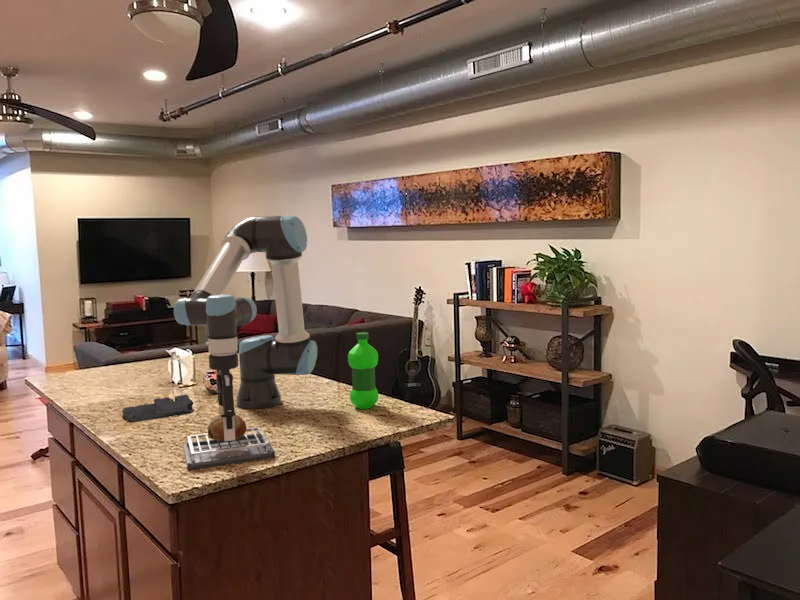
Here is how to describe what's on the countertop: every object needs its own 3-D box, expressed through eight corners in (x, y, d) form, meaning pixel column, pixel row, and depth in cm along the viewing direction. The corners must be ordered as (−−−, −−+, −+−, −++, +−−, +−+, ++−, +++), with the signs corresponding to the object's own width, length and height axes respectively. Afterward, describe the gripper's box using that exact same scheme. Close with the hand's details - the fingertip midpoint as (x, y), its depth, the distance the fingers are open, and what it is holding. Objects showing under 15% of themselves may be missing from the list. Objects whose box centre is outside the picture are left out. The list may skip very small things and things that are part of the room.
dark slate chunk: (119, 414, 223) (118, 400, 223) (186, 404, 235) (185, 390, 234) (127, 425, 210) (126, 410, 210) (198, 414, 222) (197, 400, 221)
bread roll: (207, 447, 182) (194, 424, 178) (236, 423, 188) (224, 401, 185) (227, 455, 175) (214, 431, 172) (256, 430, 181) (244, 407, 178)
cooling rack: (183, 448, 185) (182, 435, 184) (263, 438, 193) (263, 425, 192) (187, 470, 168) (186, 455, 168) (275, 457, 176) (274, 443, 176)
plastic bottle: (379, 402, 230) (377, 330, 227) (379, 410, 219) (377, 335, 217) (350, 403, 229) (347, 331, 227) (348, 411, 219) (346, 336, 216)
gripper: (204, 347, 187) (209, 424, 189) (212, 362, 166) (217, 449, 168) (232, 345, 189) (236, 421, 192) (243, 359, 168) (247, 445, 171)
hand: (227, 434), depth 180 cm, fingers closed on bread roll, 10 cm apart
